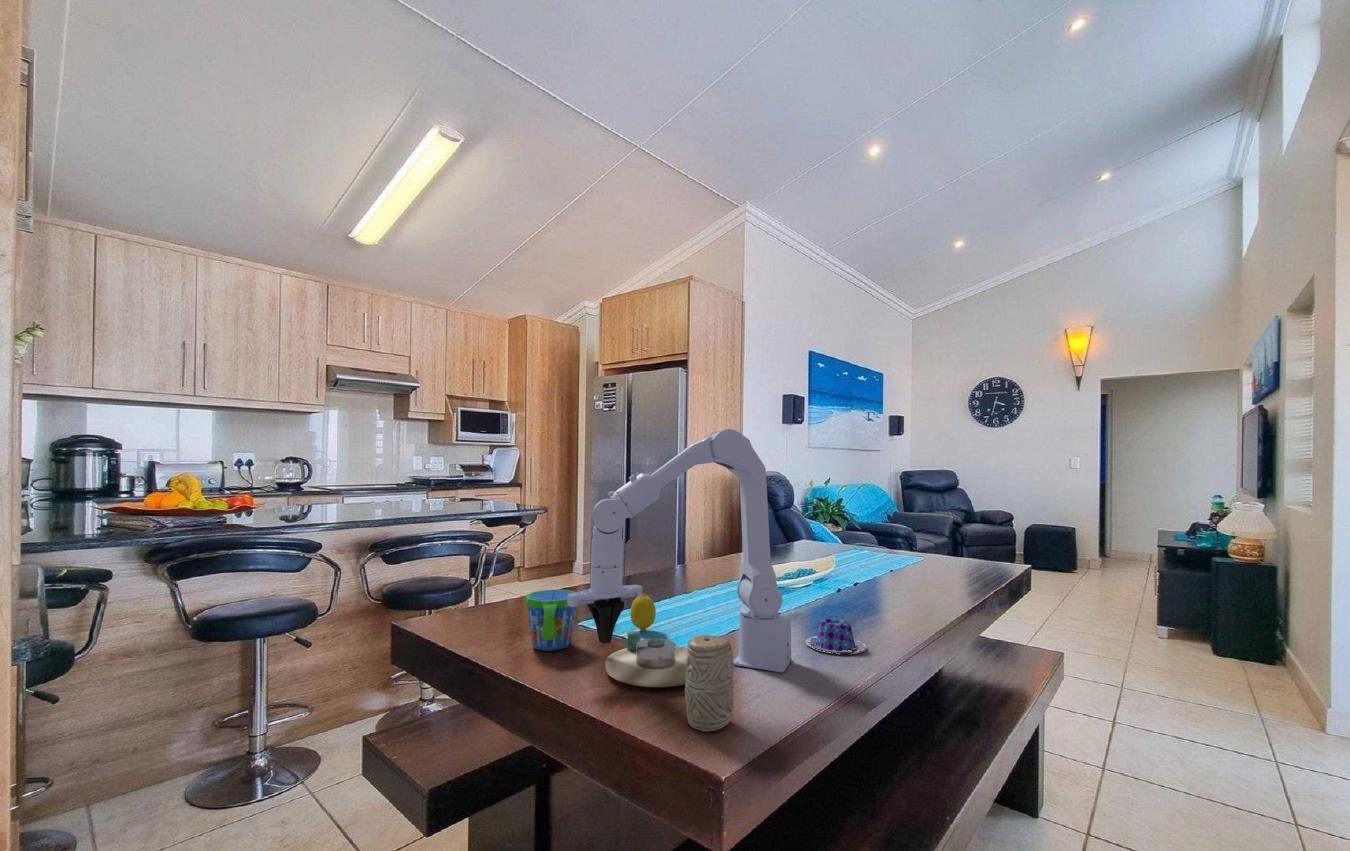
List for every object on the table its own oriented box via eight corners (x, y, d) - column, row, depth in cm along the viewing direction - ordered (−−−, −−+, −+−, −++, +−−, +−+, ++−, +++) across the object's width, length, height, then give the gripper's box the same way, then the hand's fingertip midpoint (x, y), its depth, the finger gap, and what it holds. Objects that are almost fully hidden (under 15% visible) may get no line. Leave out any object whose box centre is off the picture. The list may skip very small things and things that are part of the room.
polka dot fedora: (872, 645, 118) (871, 619, 119) (858, 662, 108) (858, 634, 108) (815, 635, 125) (815, 611, 125) (797, 650, 114) (797, 624, 115)
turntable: (721, 658, 105) (721, 636, 105) (685, 694, 88) (685, 668, 89) (634, 645, 112) (634, 624, 112) (585, 676, 95) (586, 651, 96)
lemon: (654, 635, 122) (655, 597, 122) (628, 634, 122) (629, 596, 122) (656, 627, 127) (656, 591, 128) (631, 627, 127) (632, 591, 128)
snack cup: (533, 634, 121) (534, 585, 122) (582, 634, 121) (584, 586, 122) (514, 659, 106) (516, 604, 106) (571, 660, 106) (573, 604, 107)
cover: (681, 659, 102) (682, 638, 102) (665, 672, 95) (665, 650, 95) (647, 653, 104) (647, 633, 105) (628, 665, 98) (629, 644, 98)
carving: (674, 727, 80) (675, 639, 81) (707, 710, 86) (708, 628, 86) (709, 742, 76) (710, 650, 76) (742, 723, 81) (743, 637, 82)
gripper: (628, 558, 111) (626, 629, 110) (560, 565, 102) (558, 642, 102) (649, 564, 106) (647, 639, 105) (579, 572, 97) (576, 654, 96)
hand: (604, 641), depth 103 cm, fingers closed
